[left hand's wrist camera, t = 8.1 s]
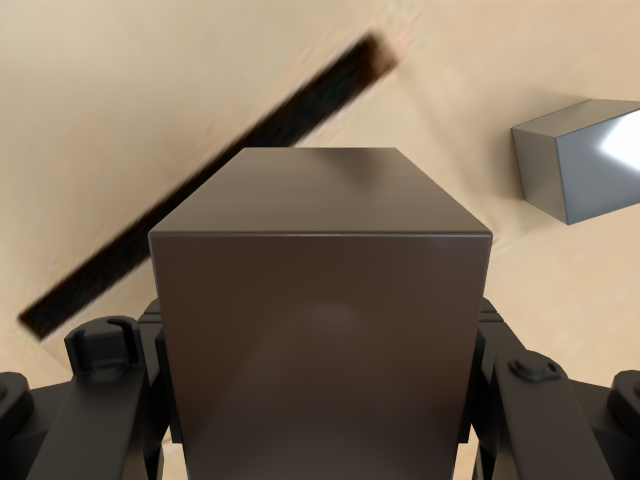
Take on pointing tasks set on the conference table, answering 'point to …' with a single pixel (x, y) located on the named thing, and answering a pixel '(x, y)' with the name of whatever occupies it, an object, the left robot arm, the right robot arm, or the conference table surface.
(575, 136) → the grey block
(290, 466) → the walnut bar
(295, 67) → the conference table surface
